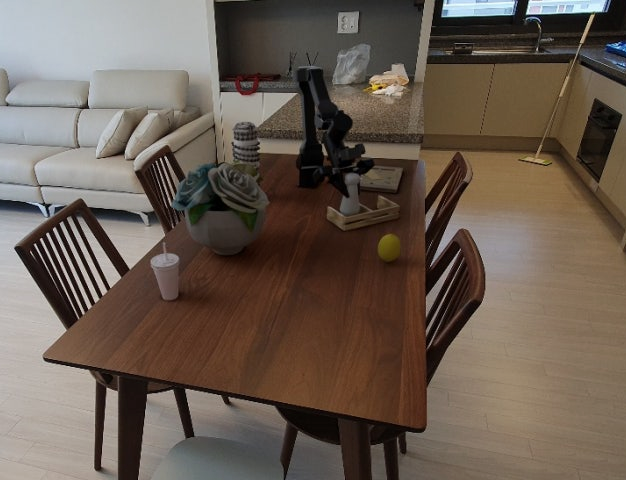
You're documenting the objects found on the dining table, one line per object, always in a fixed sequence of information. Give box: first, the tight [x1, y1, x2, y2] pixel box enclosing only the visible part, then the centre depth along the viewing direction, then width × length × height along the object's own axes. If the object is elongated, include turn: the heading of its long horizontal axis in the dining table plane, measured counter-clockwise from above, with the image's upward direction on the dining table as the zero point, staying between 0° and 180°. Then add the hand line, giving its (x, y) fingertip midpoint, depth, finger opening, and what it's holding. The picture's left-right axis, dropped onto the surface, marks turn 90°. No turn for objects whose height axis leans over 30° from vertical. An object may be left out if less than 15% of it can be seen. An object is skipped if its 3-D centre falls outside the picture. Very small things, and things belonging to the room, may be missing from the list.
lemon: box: [377, 233, 402, 263], centre depth 116 cm, size 6×6×8 cm
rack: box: [326, 195, 401, 232], centre depth 140 cm, size 10×20×4 cm, turn 114°
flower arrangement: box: [170, 160, 271, 256], centre depth 120 cm, size 25×25×24 cm
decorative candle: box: [230, 121, 261, 189], centre depth 150 cm, size 9×9×25 cm
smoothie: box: [150, 242, 181, 301], centre depth 104 cm, size 6×6×14 cm
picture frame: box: [344, 162, 404, 194], centre depth 169 cm, size 19×2×24 cm
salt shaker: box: [339, 172, 360, 217], centre depth 136 cm, size 6×6×13 cm
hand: (353, 196), depth 134 cm, fingers closed on salt shaker, 3 cm apart
